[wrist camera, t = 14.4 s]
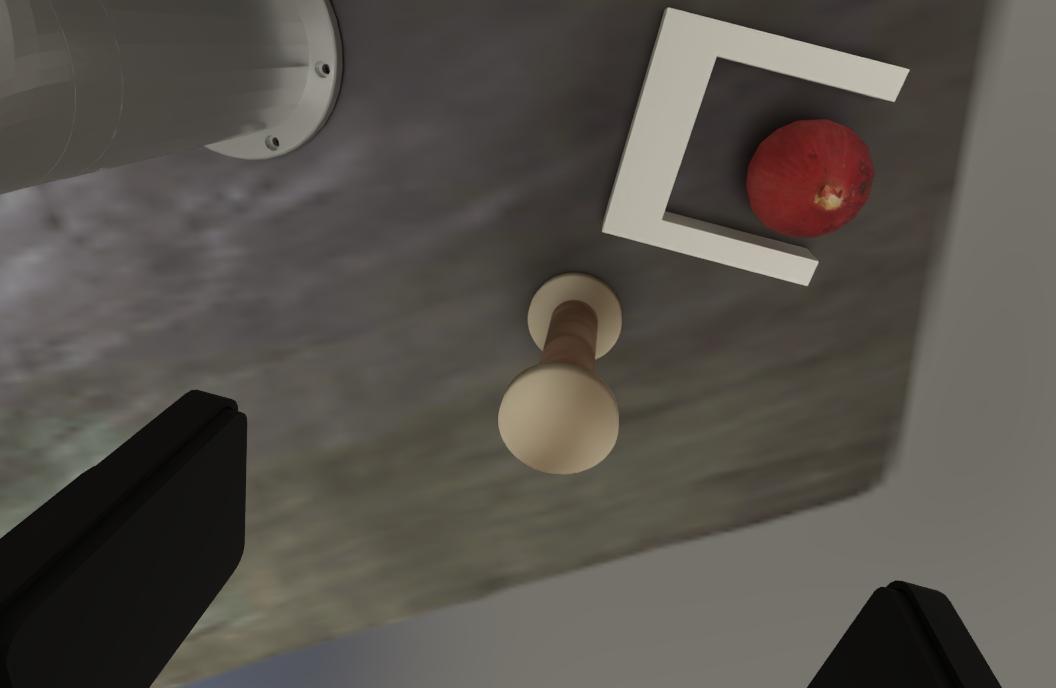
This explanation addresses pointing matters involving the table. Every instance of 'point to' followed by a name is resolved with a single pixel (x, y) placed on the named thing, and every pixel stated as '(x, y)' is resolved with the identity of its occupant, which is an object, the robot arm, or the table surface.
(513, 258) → the table surface
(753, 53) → the notched board
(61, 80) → the robot arm
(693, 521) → the table surface
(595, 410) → the spool
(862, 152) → the pomegranate
